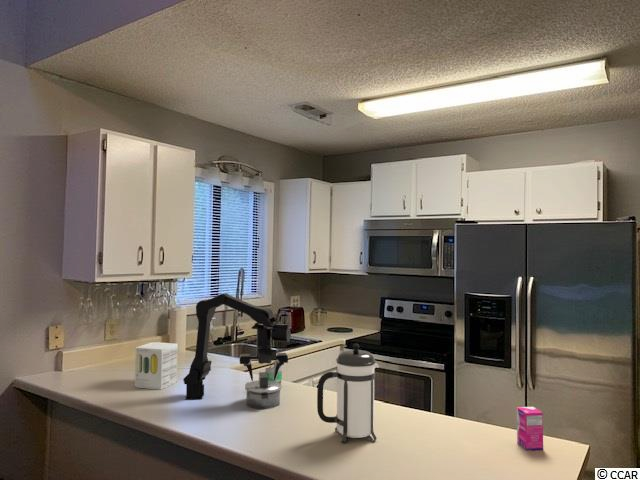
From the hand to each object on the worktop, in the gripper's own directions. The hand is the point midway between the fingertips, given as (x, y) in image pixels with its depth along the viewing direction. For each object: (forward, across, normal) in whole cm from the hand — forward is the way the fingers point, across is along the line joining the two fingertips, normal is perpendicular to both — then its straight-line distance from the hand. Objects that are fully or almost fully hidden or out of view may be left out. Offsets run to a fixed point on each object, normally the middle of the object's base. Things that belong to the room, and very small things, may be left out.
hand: (263, 380), depth 185 cm
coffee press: (+9, +26, -38) cm, 47 cm away
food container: (+9, +7, +20) cm, 23 cm away
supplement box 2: (+9, +79, -54) cm, 96 cm away
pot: (+9, 0, 0) cm, 9 cm away
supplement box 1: (+9, -45, +33) cm, 56 cm away
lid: (+3, 0, 0) cm, 3 cm away
